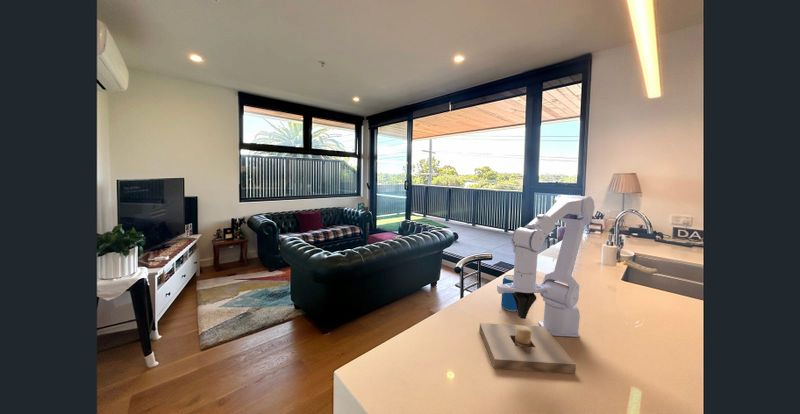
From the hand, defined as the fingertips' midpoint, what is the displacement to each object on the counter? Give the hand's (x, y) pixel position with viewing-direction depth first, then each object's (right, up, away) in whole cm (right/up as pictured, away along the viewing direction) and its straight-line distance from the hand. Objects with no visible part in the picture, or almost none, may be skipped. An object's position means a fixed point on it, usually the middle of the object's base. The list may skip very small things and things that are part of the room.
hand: (521, 317), depth 80 cm
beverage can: (+7, -7, +26) cm, 28 cm away
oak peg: (0, -9, 0) cm, 9 cm away
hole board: (0, -9, 0) cm, 9 cm away
